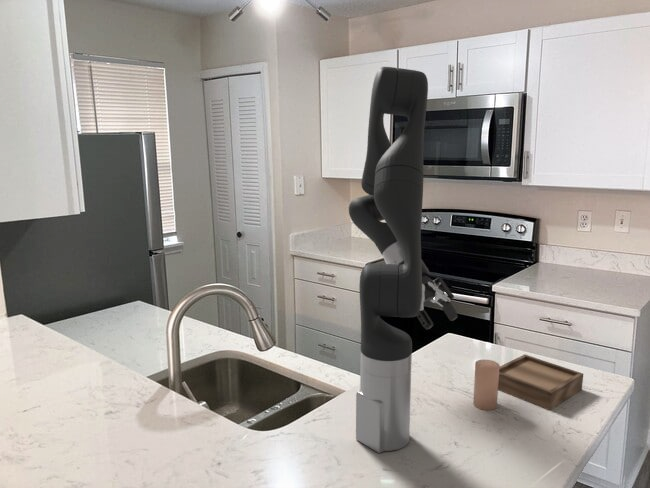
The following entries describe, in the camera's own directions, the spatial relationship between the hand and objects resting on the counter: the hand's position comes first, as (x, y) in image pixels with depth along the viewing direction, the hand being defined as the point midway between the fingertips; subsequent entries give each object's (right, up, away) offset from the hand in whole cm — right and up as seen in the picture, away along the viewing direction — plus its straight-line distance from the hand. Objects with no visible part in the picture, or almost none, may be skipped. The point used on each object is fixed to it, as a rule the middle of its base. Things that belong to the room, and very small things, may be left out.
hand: (442, 323), depth 118 cm
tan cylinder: (+8, -16, -6) cm, 19 cm away
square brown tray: (+21, -15, +1) cm, 26 cm away
